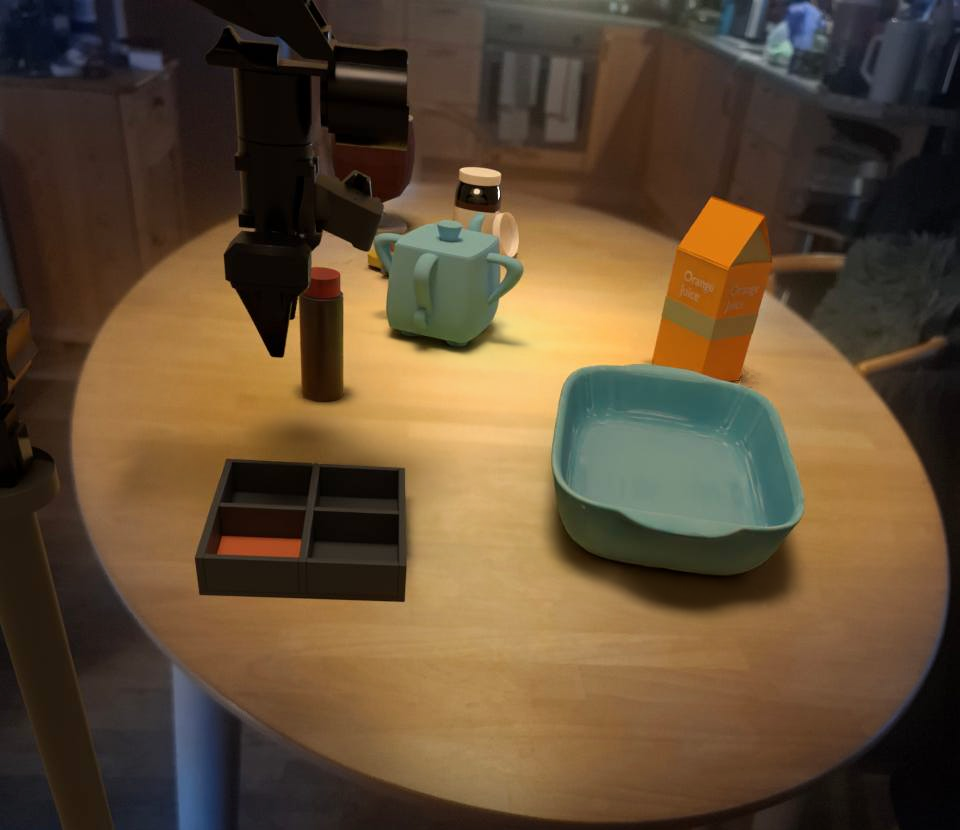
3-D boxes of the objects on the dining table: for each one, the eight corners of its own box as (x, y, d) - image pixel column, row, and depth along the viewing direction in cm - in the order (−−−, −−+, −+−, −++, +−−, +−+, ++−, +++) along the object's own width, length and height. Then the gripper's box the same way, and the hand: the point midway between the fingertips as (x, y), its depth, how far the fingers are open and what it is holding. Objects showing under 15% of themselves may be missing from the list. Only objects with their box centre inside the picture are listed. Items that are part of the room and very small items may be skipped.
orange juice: (697, 388, 111) (741, 216, 99) (650, 362, 116) (686, 196, 104) (740, 379, 115) (788, 213, 102) (692, 354, 120) (733, 194, 108)
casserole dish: (558, 406, 103) (568, 345, 98) (751, 434, 102) (769, 374, 97) (529, 583, 74) (541, 509, 69) (798, 625, 73) (827, 552, 68)
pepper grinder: (299, 400, 97) (296, 278, 89) (303, 383, 101) (299, 264, 93) (342, 403, 98) (342, 281, 90) (344, 386, 101) (344, 267, 93)
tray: (199, 595, 68) (194, 557, 66) (229, 493, 81) (225, 458, 78) (404, 602, 70) (406, 565, 68) (403, 501, 82) (405, 467, 80)
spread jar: (453, 237, 155) (458, 162, 147) (517, 244, 155) (526, 170, 148) (448, 256, 145) (454, 178, 138) (517, 264, 146) (526, 186, 138)
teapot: (522, 351, 115) (536, 242, 107) (400, 356, 110) (405, 241, 101) (475, 304, 128) (484, 203, 120) (364, 306, 123) (365, 200, 114)
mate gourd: (329, 212, 159) (328, 82, 147) (406, 217, 162) (411, 90, 150) (334, 237, 148) (333, 98, 135) (417, 241, 150) (424, 105, 138)
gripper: (376, 174, 63) (371, 386, 72) (382, 127, 77) (377, 308, 87) (214, 159, 61) (231, 376, 71) (251, 114, 76) (261, 299, 86)
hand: (283, 337), depth 79 cm, fingers open, 9 cm apart
